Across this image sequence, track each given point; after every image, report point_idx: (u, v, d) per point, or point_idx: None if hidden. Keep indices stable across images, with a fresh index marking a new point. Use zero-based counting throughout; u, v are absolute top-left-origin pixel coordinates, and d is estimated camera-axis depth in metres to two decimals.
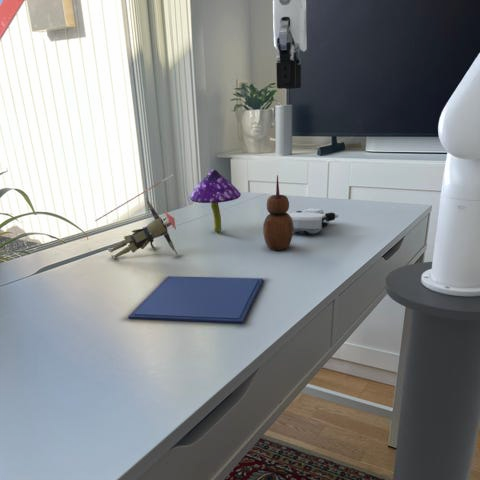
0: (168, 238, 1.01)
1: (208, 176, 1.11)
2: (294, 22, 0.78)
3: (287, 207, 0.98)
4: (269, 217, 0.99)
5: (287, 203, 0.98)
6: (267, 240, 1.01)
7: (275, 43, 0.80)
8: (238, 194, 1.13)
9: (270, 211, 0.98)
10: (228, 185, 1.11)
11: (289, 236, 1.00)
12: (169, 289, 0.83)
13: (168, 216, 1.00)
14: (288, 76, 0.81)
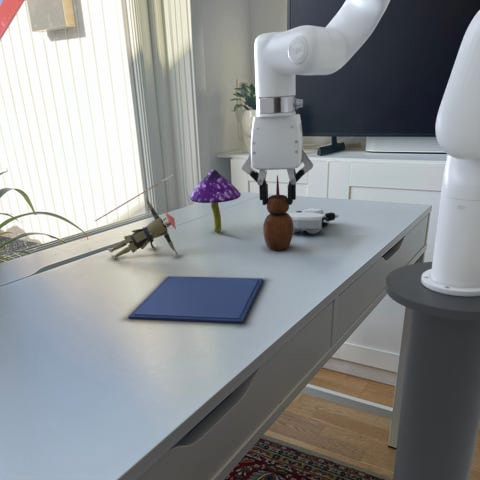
0: (168, 238, 1.01)
1: (208, 176, 1.11)
2: None
3: (287, 207, 0.98)
4: (269, 217, 0.99)
5: (287, 203, 0.98)
6: (267, 240, 1.01)
7: (299, 163, 0.93)
8: (238, 194, 1.13)
9: (270, 211, 0.98)
10: (228, 185, 1.11)
11: (289, 236, 1.00)
12: (169, 289, 0.83)
13: (168, 216, 1.00)
14: (295, 194, 0.98)
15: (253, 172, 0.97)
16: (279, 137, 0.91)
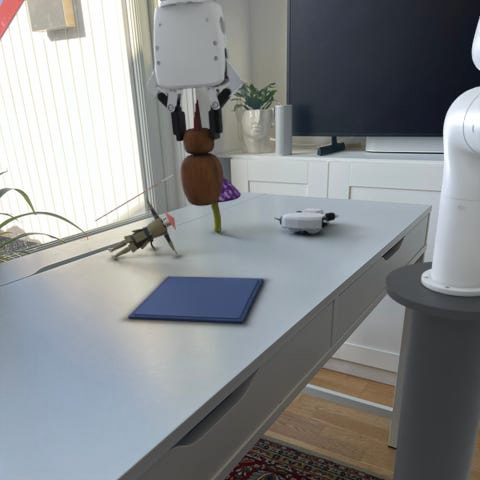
0: (168, 238, 1.01)
1: None
2: (228, 56, 0.67)
3: (211, 144, 0.71)
4: (186, 158, 0.71)
5: None
6: (185, 191, 0.73)
7: (222, 77, 0.66)
8: (238, 194, 1.13)
9: (187, 149, 0.71)
10: (228, 185, 1.11)
11: (216, 186, 0.73)
12: (169, 289, 0.83)
13: (168, 216, 1.00)
14: (222, 125, 0.71)
15: (161, 94, 0.69)
16: (190, 37, 0.64)
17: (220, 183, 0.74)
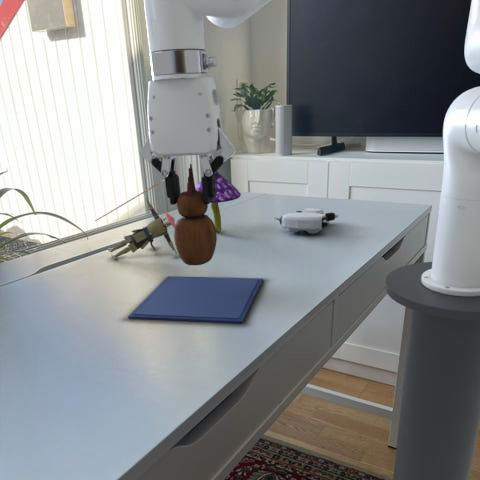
0: (168, 238, 1.01)
1: None
2: (221, 124, 0.69)
3: (204, 207, 0.72)
4: (180, 221, 0.72)
5: None
6: (179, 252, 0.74)
7: (214, 147, 0.67)
8: (238, 194, 1.13)
9: (181, 213, 0.72)
10: (228, 185, 1.11)
11: (209, 247, 0.74)
12: (169, 289, 0.83)
13: (168, 216, 1.00)
14: (215, 189, 0.72)
15: (155, 159, 0.70)
16: (183, 109, 0.65)
17: (213, 243, 0.75)
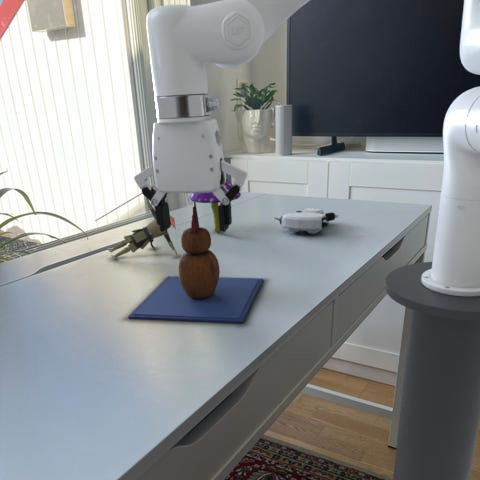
0: (168, 238, 1.01)
1: None
2: None
3: (207, 244, 0.74)
4: (184, 257, 0.75)
5: (207, 239, 0.74)
6: (183, 286, 0.77)
7: (217, 185, 0.69)
8: (238, 194, 1.13)
9: (185, 249, 0.74)
10: (228, 185, 1.11)
11: (212, 281, 0.76)
12: (169, 289, 0.83)
13: None
14: (231, 217, 0.73)
15: (145, 189, 0.73)
16: (187, 150, 0.67)
17: (216, 278, 0.78)
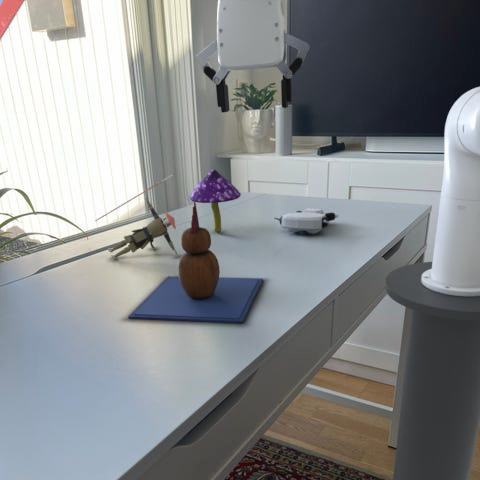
0: (168, 238, 1.01)
1: (208, 176, 1.11)
2: None
3: (207, 244, 0.75)
4: (184, 257, 0.75)
5: (207, 239, 0.74)
6: (183, 286, 0.77)
7: (281, 57, 0.71)
8: (238, 194, 1.13)
9: (185, 249, 0.74)
10: (228, 185, 1.11)
11: (212, 281, 0.76)
12: (169, 289, 0.83)
13: (168, 216, 1.00)
14: (291, 94, 0.74)
15: (207, 67, 0.74)
16: (253, 19, 0.69)
17: (216, 278, 0.78)
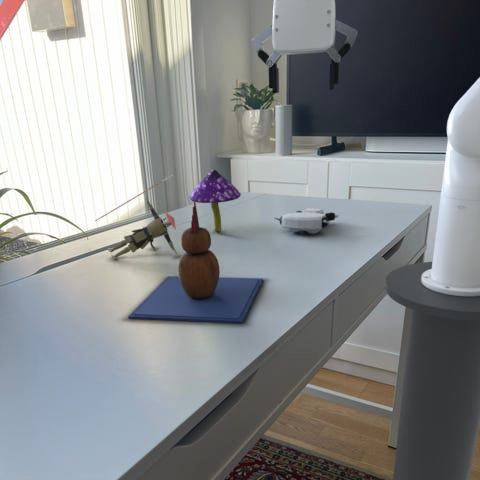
0: (168, 238, 1.01)
1: (208, 176, 1.11)
2: None
3: (207, 244, 0.75)
4: (184, 257, 0.75)
5: (207, 239, 0.74)
6: (183, 286, 0.77)
7: (332, 42, 0.77)
8: (238, 194, 1.13)
9: (185, 249, 0.74)
10: (228, 185, 1.11)
11: (212, 281, 0.76)
12: (169, 289, 0.83)
13: (168, 216, 1.00)
14: (338, 77, 0.81)
15: (261, 51, 0.80)
16: (308, 6, 0.75)
17: (216, 278, 0.78)
